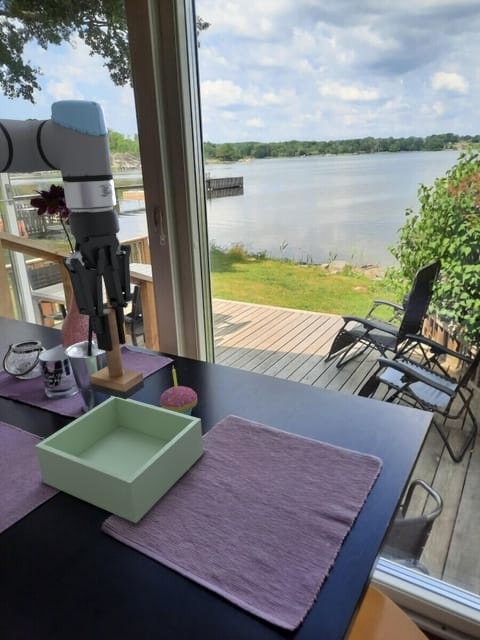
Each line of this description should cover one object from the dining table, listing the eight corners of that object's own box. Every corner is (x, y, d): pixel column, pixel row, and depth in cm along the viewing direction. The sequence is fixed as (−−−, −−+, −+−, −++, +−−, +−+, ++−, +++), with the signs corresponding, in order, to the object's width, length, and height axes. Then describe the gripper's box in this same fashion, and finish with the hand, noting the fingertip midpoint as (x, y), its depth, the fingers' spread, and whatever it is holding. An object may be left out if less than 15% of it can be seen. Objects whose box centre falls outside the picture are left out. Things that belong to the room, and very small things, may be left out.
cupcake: (156, 413, 102) (151, 366, 98) (190, 403, 105) (187, 358, 101) (168, 431, 95) (163, 382, 91) (204, 420, 98) (201, 372, 94)
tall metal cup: (111, 421, 99) (92, 293, 89) (65, 418, 101) (41, 293, 91) (130, 397, 109) (115, 280, 99) (88, 395, 111) (68, 279, 101)
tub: (43, 482, 81) (35, 445, 78) (119, 426, 97) (114, 394, 94) (136, 523, 71) (130, 483, 68) (203, 453, 87) (200, 418, 84)
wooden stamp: (92, 390, 80) (79, 312, 75) (111, 378, 84) (100, 304, 79) (125, 399, 77) (114, 318, 72) (144, 387, 81) (135, 309, 76)
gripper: (71, 215, 62) (95, 367, 70) (143, 205, 75) (156, 334, 82) (34, 214, 65) (61, 359, 73) (109, 204, 78) (125, 328, 86)
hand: (112, 345), depth 78 cm, fingers closed on wooden stamp, 3 cm apart
